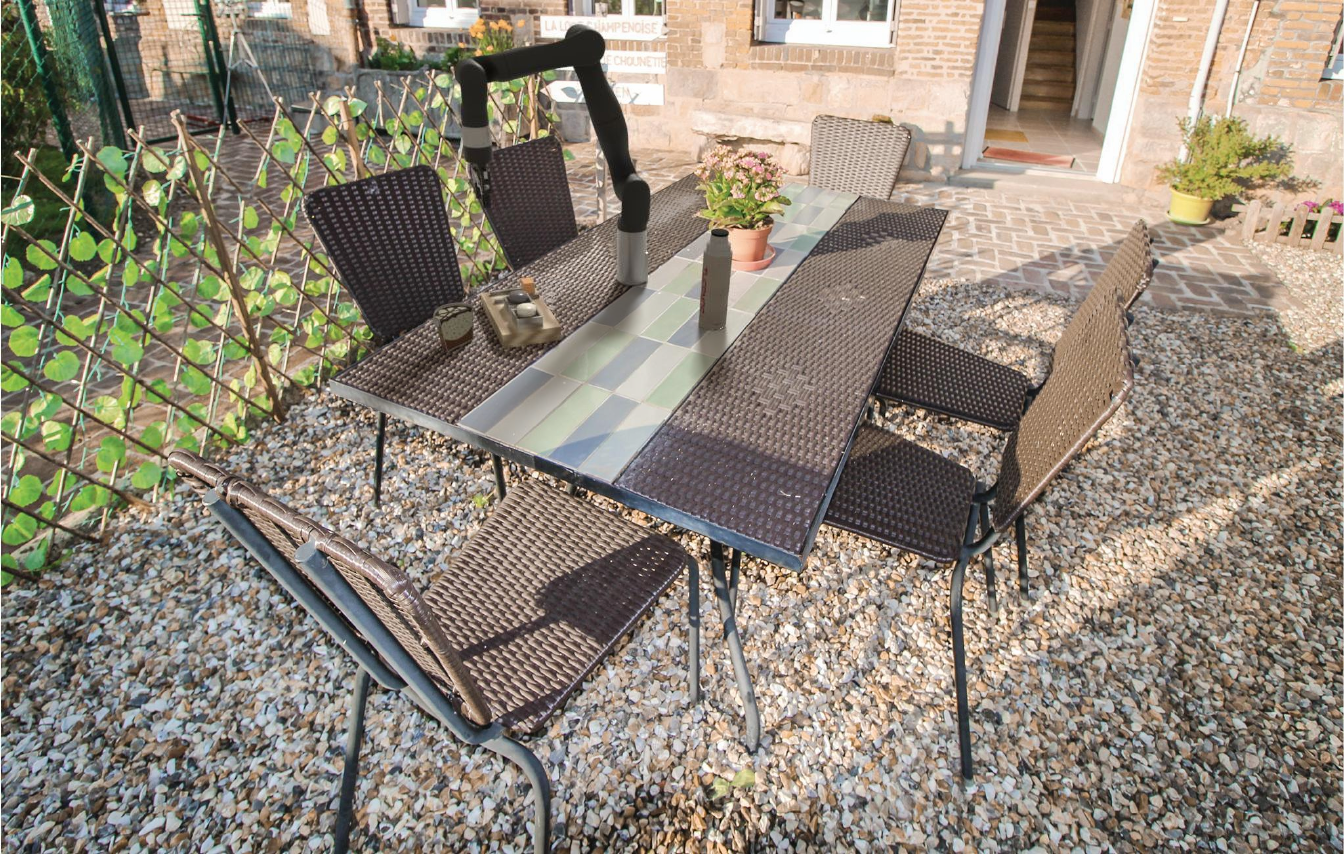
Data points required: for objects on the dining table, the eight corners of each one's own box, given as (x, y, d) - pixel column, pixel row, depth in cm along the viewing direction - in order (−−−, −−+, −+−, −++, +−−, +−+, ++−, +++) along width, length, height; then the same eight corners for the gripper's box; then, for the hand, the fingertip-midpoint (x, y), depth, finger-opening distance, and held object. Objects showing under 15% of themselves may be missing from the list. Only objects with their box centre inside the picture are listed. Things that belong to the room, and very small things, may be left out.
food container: (462, 330, 206) (458, 297, 200) (477, 337, 203) (474, 304, 197) (427, 347, 197) (421, 313, 192) (442, 354, 195) (437, 320, 189)
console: (534, 298, 225) (533, 277, 221) (561, 339, 204) (560, 316, 200) (481, 305, 219) (479, 283, 215) (503, 348, 198) (501, 325, 194)
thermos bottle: (700, 330, 212) (707, 236, 196) (697, 318, 219) (703, 225, 203) (727, 330, 213) (736, 236, 197) (723, 318, 220) (732, 226, 204)
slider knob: (531, 290, 220) (530, 277, 217) (535, 295, 217) (534, 282, 215) (521, 291, 219) (520, 278, 216) (525, 296, 216) (524, 283, 213)
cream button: (533, 308, 204) (532, 302, 203) (538, 315, 200) (537, 309, 199) (515, 310, 202) (514, 304, 201) (519, 318, 198) (519, 312, 197)
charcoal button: (524, 295, 211) (524, 289, 210) (529, 302, 207) (529, 296, 206) (507, 297, 209) (507, 291, 208) (511, 304, 205) (511, 298, 204)
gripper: (497, 148, 194) (503, 209, 203) (485, 135, 205) (491, 194, 214) (468, 150, 191) (475, 212, 200) (457, 137, 202) (464, 196, 211)
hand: (483, 203), depth 207 cm, fingers open, 8 cm apart
